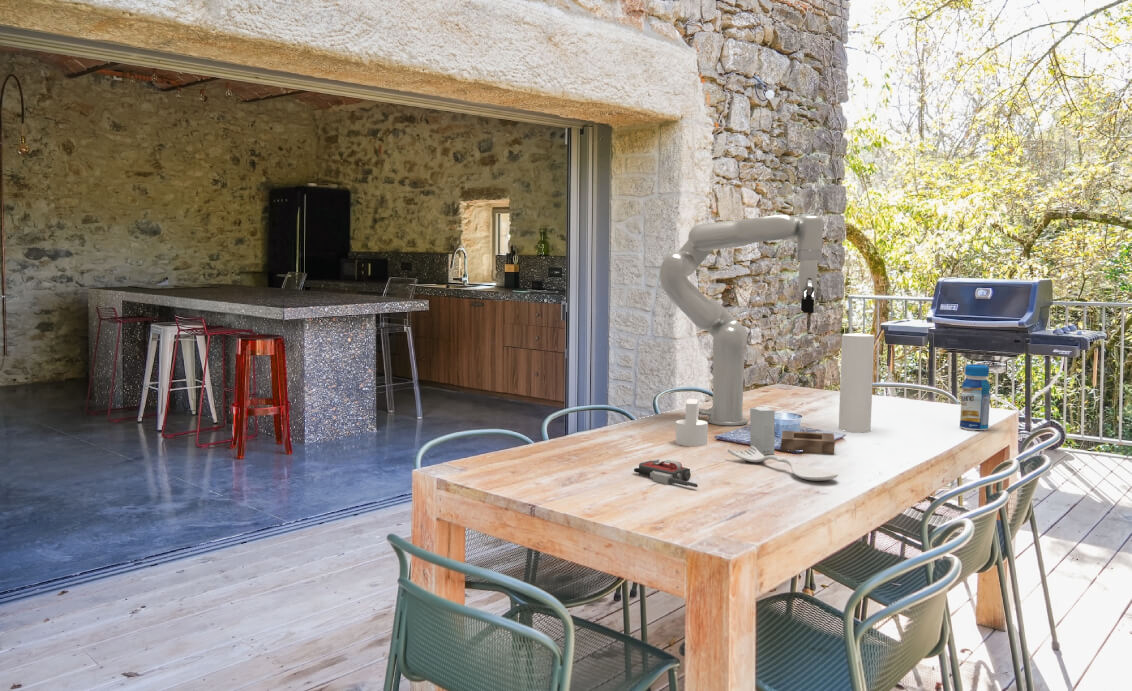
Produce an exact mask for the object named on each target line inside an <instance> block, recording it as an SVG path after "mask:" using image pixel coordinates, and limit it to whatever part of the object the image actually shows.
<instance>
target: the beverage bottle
mask: <svg viewBox="0 0 1132 691" xmlns="http://www.w3.org/2000/svg"><path fill="white" fill-rule="evenodd" d="M964 375H965V376H966V378H964V380H963V382H962V384H961V388H962V391H961V393H960V398H961V399H960V416H959V417H960V420H959V428H960V429H962V428H963V429H962V430H965V429H968V430H967V431H970V430H984V431H983V432H985V431H988V430H989V422H990V421H989V418H990V417H989V416H990V405H991V404H990V403H991V402H990V401H991V398H992V397H991V396H992V395H991V393H990V391H991V384H990V382H989V381H988V379H987V378H988V377H989V375H990V367H989V365H986V364H966V365H965V367H964Z"/></svg>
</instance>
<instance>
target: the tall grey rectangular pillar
mask: <svg viewBox="0 0 1132 691" xmlns="http://www.w3.org/2000/svg"><path fill="white" fill-rule="evenodd" d="M841 336H842V337H841V355H840V356H841V360H840V384H839V386H840V387H839V412H838V413H839V414H838V430H839V429H841V430H845V431H852V432H851V433H853V432H866V433H869V432H868V431H870V432H871V427H872V426H871V425H872V403H873V400H872V399H873V382H874V381H873V380H874V379H873V378H874V354H875V334H868V333H863V332H853V333H843V334H842V335H841ZM841 430H840V431H841ZM845 431H844V432H845Z"/></svg>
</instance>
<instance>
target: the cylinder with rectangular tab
mask: <svg viewBox="0 0 1132 691" xmlns="http://www.w3.org/2000/svg"><path fill="white" fill-rule="evenodd" d="M708 424H709V422H708V421H706V420H701V419H699V398H687V400H686V403H685V419H678V420H675V441H674V442H675V444H677V445H681V446H686V447H703V446H707V445H708V429H709V428H708V427H709V426H708Z"/></svg>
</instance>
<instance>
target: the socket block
mask: <svg viewBox="0 0 1132 691" xmlns="http://www.w3.org/2000/svg"><path fill="white" fill-rule="evenodd" d="M835 443H836V442H835V434H834V433H831V432H830V433H829V432H827V433H826V432H813V431H812V432H811V431H793V430H782V433H781V439H780V452H783V453H784V452H789V453H792V452H791V451H795V450H803V452H802V453H803V454H817V455H818V454H819V455H831V456H833V455H835V445H836V444H835ZM788 450H789V451H788Z"/></svg>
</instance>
